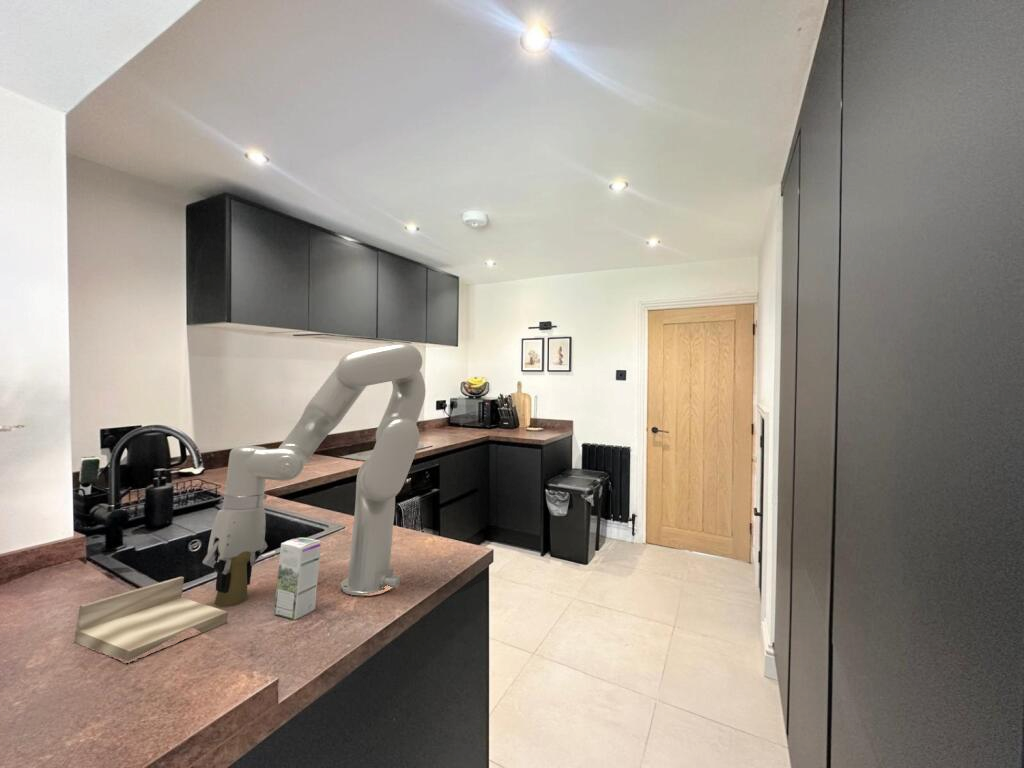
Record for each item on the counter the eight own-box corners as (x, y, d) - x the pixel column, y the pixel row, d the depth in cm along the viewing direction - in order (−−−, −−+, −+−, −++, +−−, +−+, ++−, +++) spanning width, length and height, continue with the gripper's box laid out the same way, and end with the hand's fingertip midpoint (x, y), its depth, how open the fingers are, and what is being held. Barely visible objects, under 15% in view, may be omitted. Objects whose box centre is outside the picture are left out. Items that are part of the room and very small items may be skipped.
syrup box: (316, 609, 88) (323, 539, 90) (293, 621, 83) (301, 546, 84) (295, 604, 90) (302, 535, 91) (271, 615, 84) (280, 542, 86)
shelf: (226, 622, 81) (230, 590, 81) (127, 664, 66) (133, 624, 66) (176, 606, 86) (180, 576, 86) (74, 642, 71) (79, 605, 72)
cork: (231, 608, 86) (237, 553, 88) (207, 604, 88) (214, 550, 89) (254, 597, 92) (260, 546, 94) (231, 593, 94) (237, 543, 95)
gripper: (265, 495, 101) (256, 573, 99) (192, 505, 86) (179, 598, 84) (288, 498, 99) (279, 578, 97) (217, 510, 83) (204, 606, 81)
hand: (233, 586), depth 90 cm, fingers closed on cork, 4 cm apart
